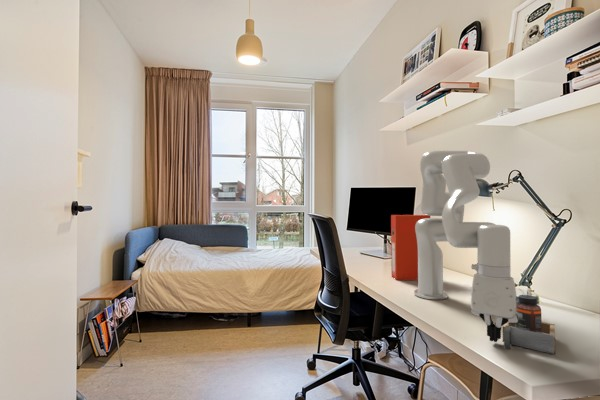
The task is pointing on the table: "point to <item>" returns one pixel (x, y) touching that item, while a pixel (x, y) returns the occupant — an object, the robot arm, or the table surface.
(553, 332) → the caddy
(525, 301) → the supplement bottle
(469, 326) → the table surface
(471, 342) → the table surface
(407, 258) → the file binder
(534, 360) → the table surface
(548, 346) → the grey l-shaped block
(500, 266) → the robot arm
